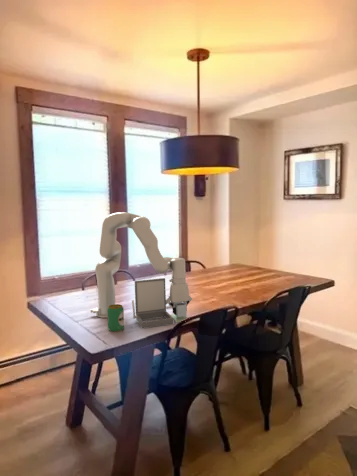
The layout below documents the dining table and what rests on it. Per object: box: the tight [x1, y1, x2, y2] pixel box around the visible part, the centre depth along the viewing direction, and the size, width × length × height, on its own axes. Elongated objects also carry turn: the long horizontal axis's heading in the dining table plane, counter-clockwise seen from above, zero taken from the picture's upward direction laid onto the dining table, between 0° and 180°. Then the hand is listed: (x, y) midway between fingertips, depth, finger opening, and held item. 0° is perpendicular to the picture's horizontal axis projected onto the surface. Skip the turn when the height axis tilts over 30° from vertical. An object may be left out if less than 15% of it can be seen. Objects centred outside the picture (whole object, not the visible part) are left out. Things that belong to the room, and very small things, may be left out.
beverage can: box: [107, 303, 125, 333], centre depth 182 cm, size 8×8×12 cm
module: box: [175, 302, 188, 317], centre depth 197 cm, size 5×8×6 cm, turn 19°
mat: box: [170, 313, 189, 324], centre depth 198 cm, size 8×13×1 cm, turn 19°
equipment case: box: [131, 277, 175, 329], centre depth 192 cm, size 19×15×22 cm
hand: (179, 313), depth 198 cm, fingers closed on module, 5 cm apart
